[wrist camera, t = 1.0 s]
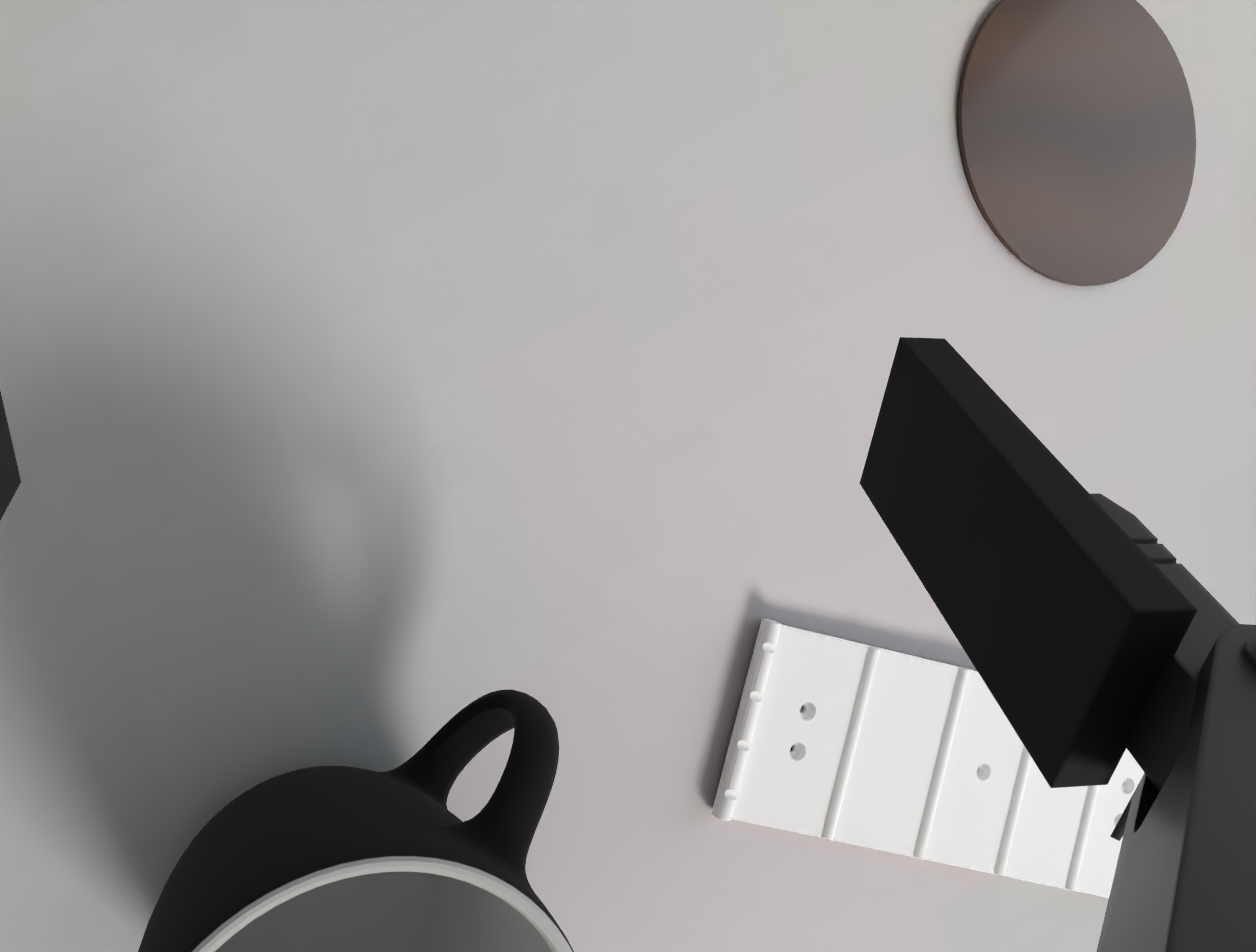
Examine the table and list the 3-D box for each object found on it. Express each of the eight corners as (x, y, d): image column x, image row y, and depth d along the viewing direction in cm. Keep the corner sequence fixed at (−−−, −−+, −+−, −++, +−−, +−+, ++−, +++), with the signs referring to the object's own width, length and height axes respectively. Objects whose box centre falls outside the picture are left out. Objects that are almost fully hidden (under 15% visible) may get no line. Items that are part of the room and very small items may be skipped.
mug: (340, 1108, 29) (411, 1419, 20) (49, 954, 27) (-27, 1232, 17) (594, 742, 32) (763, 865, 23) (354, 566, 29) (432, 623, 20)
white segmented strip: (699, 840, 33) (723, 858, 32) (764, 589, 34) (790, 596, 33) (1526, 979, 50) (1566, 994, 49) (1559, 809, 51) (1599, 820, 49)
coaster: (926, -4, 36) (930, -7, 36) (1160, -42, 40) (1165, -44, 39) (995, 317, 37) (999, 316, 37) (1214, 250, 41) (1219, 249, 41)
